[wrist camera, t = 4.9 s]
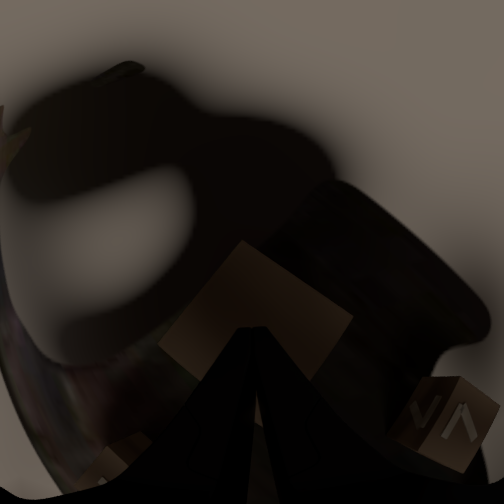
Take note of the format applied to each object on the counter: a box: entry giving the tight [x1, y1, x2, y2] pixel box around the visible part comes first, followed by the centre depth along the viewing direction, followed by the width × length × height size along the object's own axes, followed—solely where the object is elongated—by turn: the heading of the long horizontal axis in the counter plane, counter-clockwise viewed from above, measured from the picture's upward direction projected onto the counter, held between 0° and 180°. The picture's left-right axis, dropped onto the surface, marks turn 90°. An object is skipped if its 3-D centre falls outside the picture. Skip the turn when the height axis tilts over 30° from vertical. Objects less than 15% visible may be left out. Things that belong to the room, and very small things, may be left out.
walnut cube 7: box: [386, 376, 500, 473], centre depth 13 cm, size 5×5×5 cm
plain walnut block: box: [158, 240, 354, 427], centre depth 15 cm, size 6×6×8 cm
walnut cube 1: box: [74, 431, 153, 491], centre depth 13 cm, size 5×5×5 cm
